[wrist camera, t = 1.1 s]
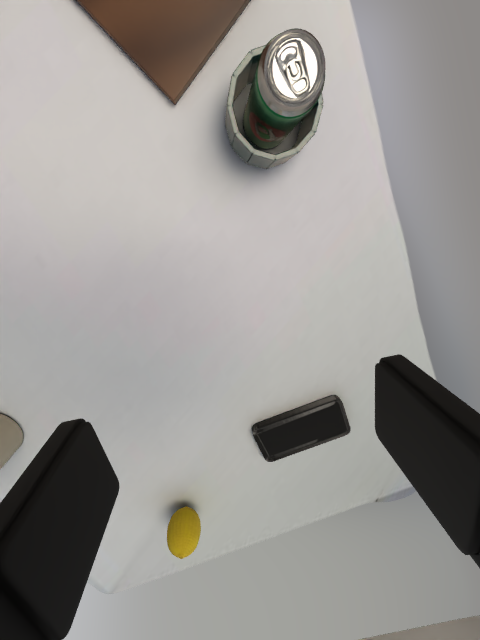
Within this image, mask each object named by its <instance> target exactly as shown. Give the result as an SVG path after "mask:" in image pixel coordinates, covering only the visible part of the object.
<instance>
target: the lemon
mask: <svg viewBox="0 0 480 640" xmlns="http://www.w3.org/2000/svg"><path fill="white" fill-rule="evenodd" d="M200 531H201V526H200V519H199V516H198V514H197V513H196V511H195V510H193V509H192V508H189V507H187V506H186V507H184V508H181V509H179V510H177V511H176V512H175V513H174V514H173V516H172V517H171V520H170V522H169V525H168V530H167V543H168V547H169V550H170V551H171V553H172V554H173V555H174V556H176V557H179V558H180V559H183V558H184V557H187V556H189V555H190V554H191V553H192V552H193V551H194V550H195V548H196V546H197V544H198V541H199V537H200Z"/></svg>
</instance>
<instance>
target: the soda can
mask: <svg viewBox="0 0 480 640" xmlns="http://www.w3.org/2000/svg"><path fill="white" fill-rule="evenodd" d="M324 81H325V57H324V53H323V50H322V48H321V45H320V44H319V42H318V40H317V39H316V38H315V37H314V36H313V35H312V34H311V33H309V32H307V31H305V30H302V29H290V30H286V31H284V32H282V33H280V34H278V35H277V36H275V37H274V38H272V39H271V40H270V41H269V42H268V43H267V45H266V46H265V48H264V49H263V51H262V53H261V55H260V58H259V61H258V64H257V68H256V71H255V75H254V78H253V82H252V86H251V89H250V93H249V97H248V100H247V104H246V107H245V111H244V116H243V127H244V131H245V134H246V136H247V138H248V139H249V140H250V142H251V143H252V144H254V145H255V146H257V147H259V148H262V149H270V148H273V147H276V146H277V145H279V144H280V143H281V142H282V141H283V140H284V139H285V138H286V137H287V135H288V134H289V133H290V132H291V131H292V130H293V129H294V128H295V127H296V125H297V124H298V123H299V122H300V121H301V120H302V119H303V118H304V117H305V115H306V114H307V113H308V112H309V111H310V110H311V109H312V108H313V107H314V105H315V104H316V103H317V101H318V99H319V97H320V95H321V93H322V90H323V86H324Z"/></svg>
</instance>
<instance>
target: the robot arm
mask: <svg viewBox="0 0 480 640" xmlns="http://www.w3.org/2000/svg"><path fill="white" fill-rule="evenodd" d="M375 430H376V434H377V436H378V438H379V440H380V441H381V442H382V444H383V445H384V447H385V448H386V449H387V451H388V452H389V454H390V455H391V456H392V458H393V459H394V460H395V462H396V463H397V465H398V466H399V467H400V469H401V470H402V471H403V473H404V474H405V476H406V477H407V478H408V480H409V481H410V483H411V484H412V485H413V487H414V488H415V489H416V491H417V492H418V493H419V495H420V496H421V498H422V499H423V500H424V502H425V503H426V505H427V506H428V507H429V509H430V510H431V511H432V513H433V514H434V516H435V517H436V518H437V520H438V521H439V523H440V524H441V525H442V527H443V528H444V529H445V531H446V532H447V534H448V535H449V536H450V538H451V539H452V540H453V542H454V543H455V545H456V546H457V547H458V548H459V550H460V551H461V552H462V553H464V554H465V555H470V556H471V557H472V558H473V560H474V561H475V562H476V564H477V565H478V566H479V568H480V414H479V413H478V412H476V411H475V410H474V409H472V408H471V407H470V406H468V405H467V404H466V403H465V402H463V401H462V400H461V399H459V398H458V397H457V396H455V395H454V394H452V393H451V392H450V391H448V390H447V389H446V388H445V387H443V386H442V385H441V384H439V383H438V382H437V381H436V380H434V379H433V378H432V377H430V376H429V375H428V374H426V373H425V372H424V371H422V370H421V369H420V368H418V367H417V366H416V365H414V364H413V363H412V362H410V361H409V360H408V359H406V358H405V357H404V356H402V355H394V356H389V357H384V358H381V359H380V362H379V363H377V364H376V366H375ZM118 492H119V481H118V478H117V476H116V474H115V472H114V470H113V468H112V466H111V464H110V462H109V460H108V458H107V456H106V454H105V452H104V450H103V447H102V445H101V443H100V441H99V439H98V437H97V435H96V433H95V431H94V429H93V427H92V425H91V423H89V422H86V421H85V420H84V419H76V420H71V421H66V422H63V423H61V424H60V425H59V426H58V427H57V428H56V430H55V431H54V432H53V434H52V435H51V436H50V438H49V439H48V440H47V442H46V443H45V444H44V446H43V447H42V448H41V450H40V451H39V452H38V454H37V455H36V456H35V458H34V459H33V460H32V462H31V463H30V464H29V466H28V467H27V468H26V470H25V471H24V472H23V474H22V475H21V476H20V478H19V479H18V480H17V482H16V483H15V485H14V486H13V487H12V489H11V490H10V491H9V493H8V494H7V495H6V497H5V498H4V499H3V501H2V502H1V503H0V640H62V639H64V638H65V637H66V635H67V634H68V632H69V630H70V628H71V625H72V622H73V619H74V617H75V614H76V611H77V608H78V605H79V603H80V600H81V597H82V594H83V591H84V588H85V585H86V583H87V580H88V577H89V574H90V571H91V569H92V566H93V563H94V560H95V557H96V554H97V552H98V549H99V546H100V543H101V540H102V537H103V535H104V532H105V529H106V526H107V523H108V520H109V518H110V515H111V512H112V509H113V506H114V504H115V501H116V498H117V495H118ZM359 640H480V615H479V616H473V617H467V618H462V619H457V620H452V621H447V622H442V623H437V624H432V625H427V626H422V627H418V628H413V629H409V630H403V631H399V632H393V633H388V634H383V635H378V636H374V637H369V638H364V639H359Z"/></svg>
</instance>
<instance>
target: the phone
mask: <svg viewBox="0 0 480 640" xmlns="http://www.w3.org/2000/svg"><path fill="white" fill-rule="evenodd" d="M252 431H253V436H254V438H255V440H256V442H257V444H258V446H259V448H260V450H261V452H262V454H263V456H264V458H265V460H266V461H268V462H273V461H276V460H279V459H281V458H284V457H287V456H290V455H292V454H295V453H298V452H301V451H304V450H306V449H309V448H312V447H315V446H318V445H320V444H323V443H326V442H329V441H332V440H334V439H337V438H340V437H343V436H345V435H347V434H348V433H349V432H350V426H349V422H348V419H347V416H346V412H345V409H344V406H343V403H342V401H341V400H340V398H339V397H338V396H336V395H333V396H330V397H327V398H324V399H321V400H319V401H316V402H313V403H311V404H308V405H305V406H302V407H300V408H297V409H294V410H292V411H289V412H286V413H284V414H281V415H278V416H275V417H273V418H270V419H267V420H265V421H262V422H259V423H257V424H255V425H254V426H253V427H252Z"/></svg>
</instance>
